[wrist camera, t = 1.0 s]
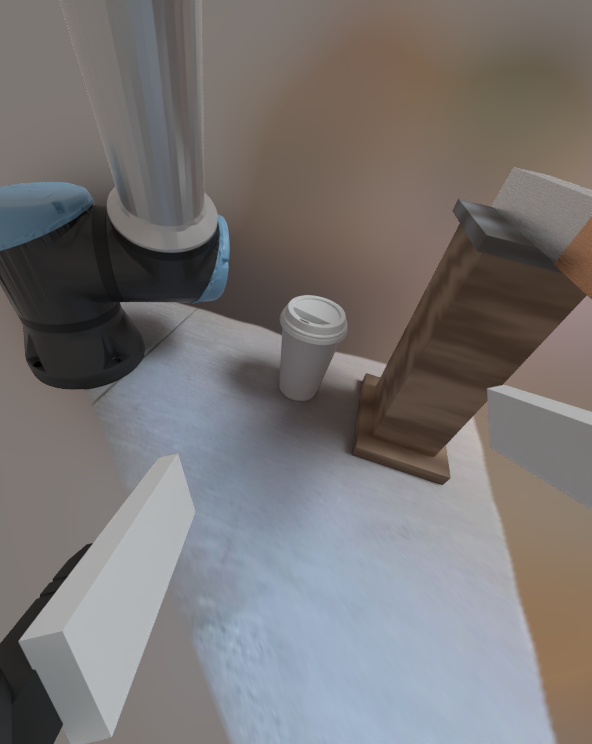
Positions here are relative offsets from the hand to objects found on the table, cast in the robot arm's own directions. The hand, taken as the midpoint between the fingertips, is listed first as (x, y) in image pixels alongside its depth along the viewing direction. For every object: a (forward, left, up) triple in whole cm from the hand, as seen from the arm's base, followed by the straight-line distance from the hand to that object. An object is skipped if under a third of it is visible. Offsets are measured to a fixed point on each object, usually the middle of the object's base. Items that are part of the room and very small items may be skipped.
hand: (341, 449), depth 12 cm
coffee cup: (-26, +9, -25) cm, 37 cm away
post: (-16, +23, -25) cm, 38 cm away
